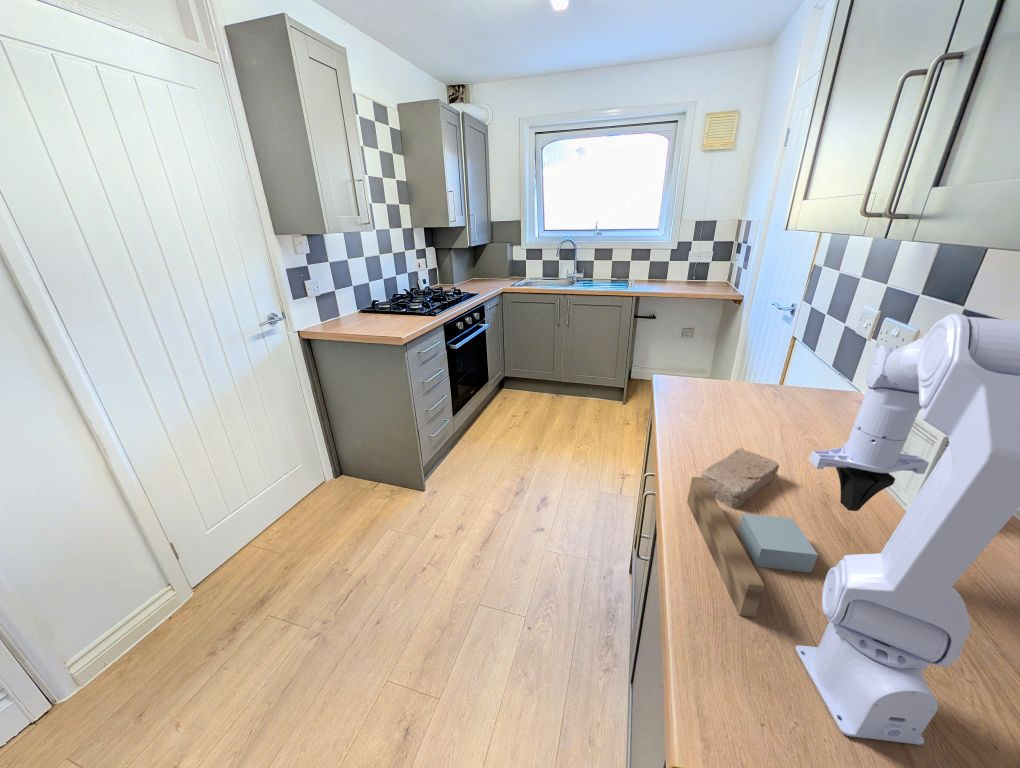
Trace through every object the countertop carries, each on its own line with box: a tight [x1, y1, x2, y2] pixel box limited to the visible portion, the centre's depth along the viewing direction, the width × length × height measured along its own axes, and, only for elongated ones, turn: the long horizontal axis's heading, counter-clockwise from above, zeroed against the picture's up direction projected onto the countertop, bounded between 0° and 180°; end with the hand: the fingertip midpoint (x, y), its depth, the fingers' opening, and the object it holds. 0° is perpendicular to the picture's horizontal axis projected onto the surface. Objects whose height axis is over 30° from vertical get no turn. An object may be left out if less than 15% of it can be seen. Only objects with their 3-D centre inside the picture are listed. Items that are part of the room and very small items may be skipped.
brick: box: [699, 447, 780, 510], centre depth 81 cm, size 17×8×5 cm, turn 124°
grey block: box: [737, 513, 819, 573], centre depth 65 cm, size 8×8×4 cm
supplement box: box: [884, 414, 949, 513], centre depth 72 cm, size 10×9×17 cm
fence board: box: [686, 476, 765, 618], centre depth 64 cm, size 24×2×6 cm, turn 174°
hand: (848, 506), depth 61 cm, fingers closed
